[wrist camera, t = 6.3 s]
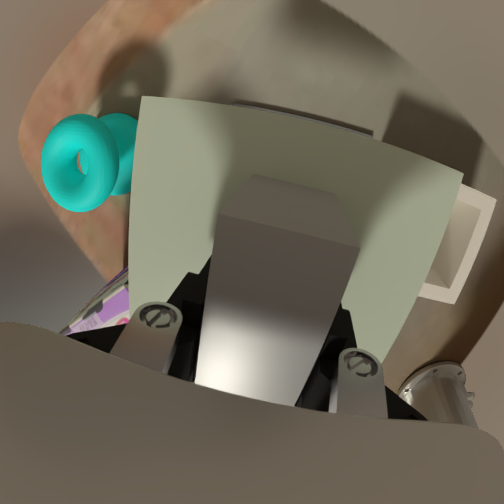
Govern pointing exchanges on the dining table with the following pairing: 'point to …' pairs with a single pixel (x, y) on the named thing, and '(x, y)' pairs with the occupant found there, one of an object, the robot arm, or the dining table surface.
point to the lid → (279, 235)
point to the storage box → (458, 245)
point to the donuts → (89, 159)
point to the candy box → (103, 307)
